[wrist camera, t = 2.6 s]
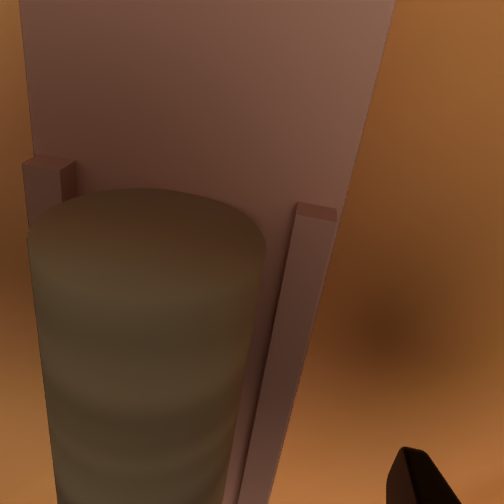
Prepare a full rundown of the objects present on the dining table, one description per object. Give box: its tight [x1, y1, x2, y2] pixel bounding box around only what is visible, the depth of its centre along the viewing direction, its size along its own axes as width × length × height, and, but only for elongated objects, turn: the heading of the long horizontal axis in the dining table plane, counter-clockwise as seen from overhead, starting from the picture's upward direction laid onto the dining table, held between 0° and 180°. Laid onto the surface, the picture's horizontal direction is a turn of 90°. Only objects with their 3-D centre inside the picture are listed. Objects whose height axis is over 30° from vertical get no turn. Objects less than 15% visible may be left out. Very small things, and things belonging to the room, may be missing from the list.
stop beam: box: [19, 0, 396, 504], centre depth 11 cm, size 16×5×4 cm, turn 172°
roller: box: [27, 188, 266, 504], centre depth 8 cm, size 8×3×3 cm, turn 172°
